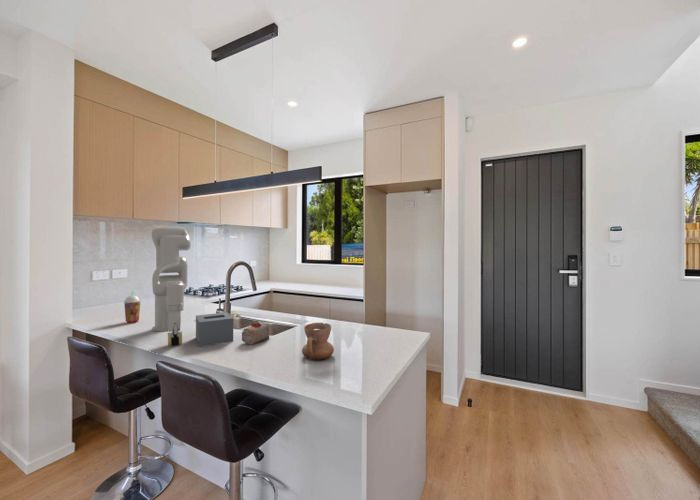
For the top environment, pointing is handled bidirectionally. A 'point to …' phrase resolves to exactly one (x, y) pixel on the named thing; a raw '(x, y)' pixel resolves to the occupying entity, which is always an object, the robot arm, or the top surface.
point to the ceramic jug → (317, 341)
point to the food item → (255, 333)
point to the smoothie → (132, 308)
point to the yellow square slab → (171, 336)
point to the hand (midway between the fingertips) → (174, 343)
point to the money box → (214, 328)
